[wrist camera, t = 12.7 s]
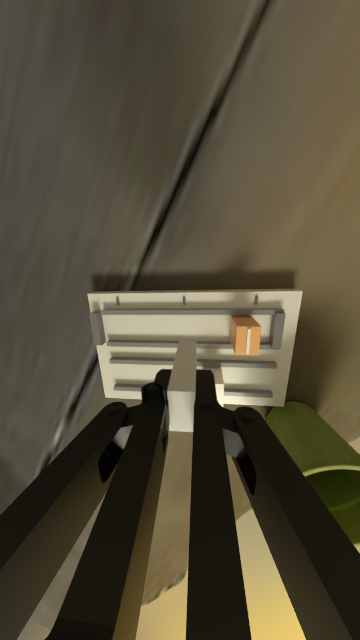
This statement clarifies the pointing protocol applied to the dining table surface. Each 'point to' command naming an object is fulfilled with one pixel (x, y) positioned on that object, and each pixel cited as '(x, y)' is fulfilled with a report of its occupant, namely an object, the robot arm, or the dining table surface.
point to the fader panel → (195, 339)
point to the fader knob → (245, 335)
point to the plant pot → (322, 461)
